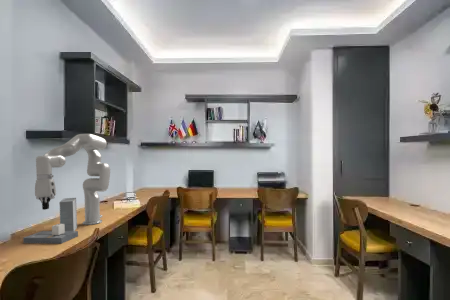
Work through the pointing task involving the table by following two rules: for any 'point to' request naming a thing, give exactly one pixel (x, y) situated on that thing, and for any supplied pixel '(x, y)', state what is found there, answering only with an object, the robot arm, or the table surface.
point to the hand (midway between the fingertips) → (45, 209)
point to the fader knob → (58, 229)
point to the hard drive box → (68, 213)
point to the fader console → (50, 237)
